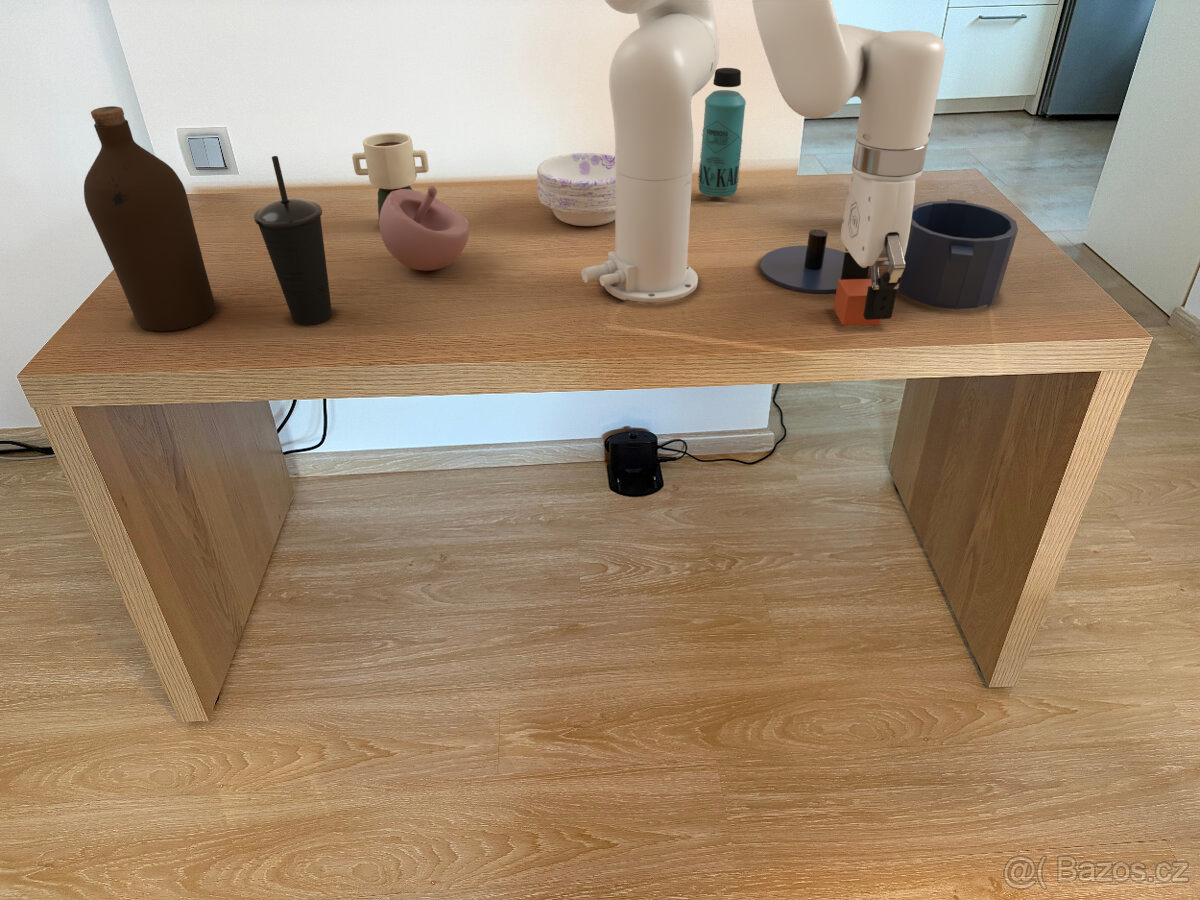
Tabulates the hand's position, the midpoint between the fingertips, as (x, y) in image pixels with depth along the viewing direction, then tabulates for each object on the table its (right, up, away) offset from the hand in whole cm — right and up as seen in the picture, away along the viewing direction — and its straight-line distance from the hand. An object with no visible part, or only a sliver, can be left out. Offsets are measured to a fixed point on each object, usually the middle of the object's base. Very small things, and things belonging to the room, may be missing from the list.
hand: (864, 299), depth 102 cm
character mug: (-63, +16, +28) cm, 71 cm away
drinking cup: (-69, -2, +4) cm, 69 cm away
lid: (-3, +6, +12) cm, 14 cm away
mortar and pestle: (-56, +7, +16) cm, 59 cm away
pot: (+13, +3, +9) cm, 16 cm away
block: (-1, -2, +2) cm, 3 cm away
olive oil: (-86, -1, +5) cm, 86 cm away
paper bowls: (-34, +18, +30) cm, 49 cm away
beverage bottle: (-13, +23, +36) cm, 44 cm away
